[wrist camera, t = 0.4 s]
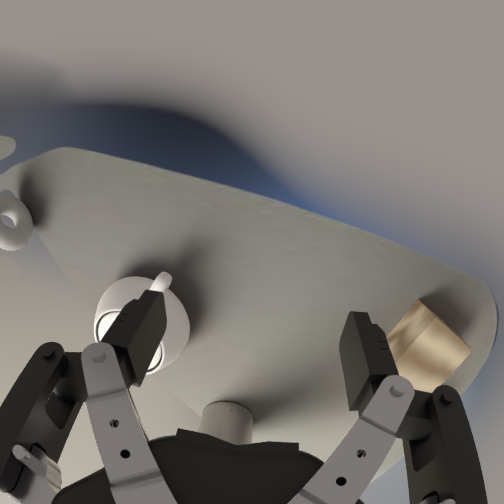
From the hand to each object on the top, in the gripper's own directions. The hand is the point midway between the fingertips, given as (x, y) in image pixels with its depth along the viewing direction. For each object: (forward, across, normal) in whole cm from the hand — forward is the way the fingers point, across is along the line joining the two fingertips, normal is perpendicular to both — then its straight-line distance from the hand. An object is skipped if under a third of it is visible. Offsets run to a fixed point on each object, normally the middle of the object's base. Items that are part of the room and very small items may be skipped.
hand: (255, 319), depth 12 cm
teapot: (+21, -16, -20) cm, 33 cm away
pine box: (+22, +26, -22) cm, 41 cm away
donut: (+23, -39, -6) cm, 46 cm away
